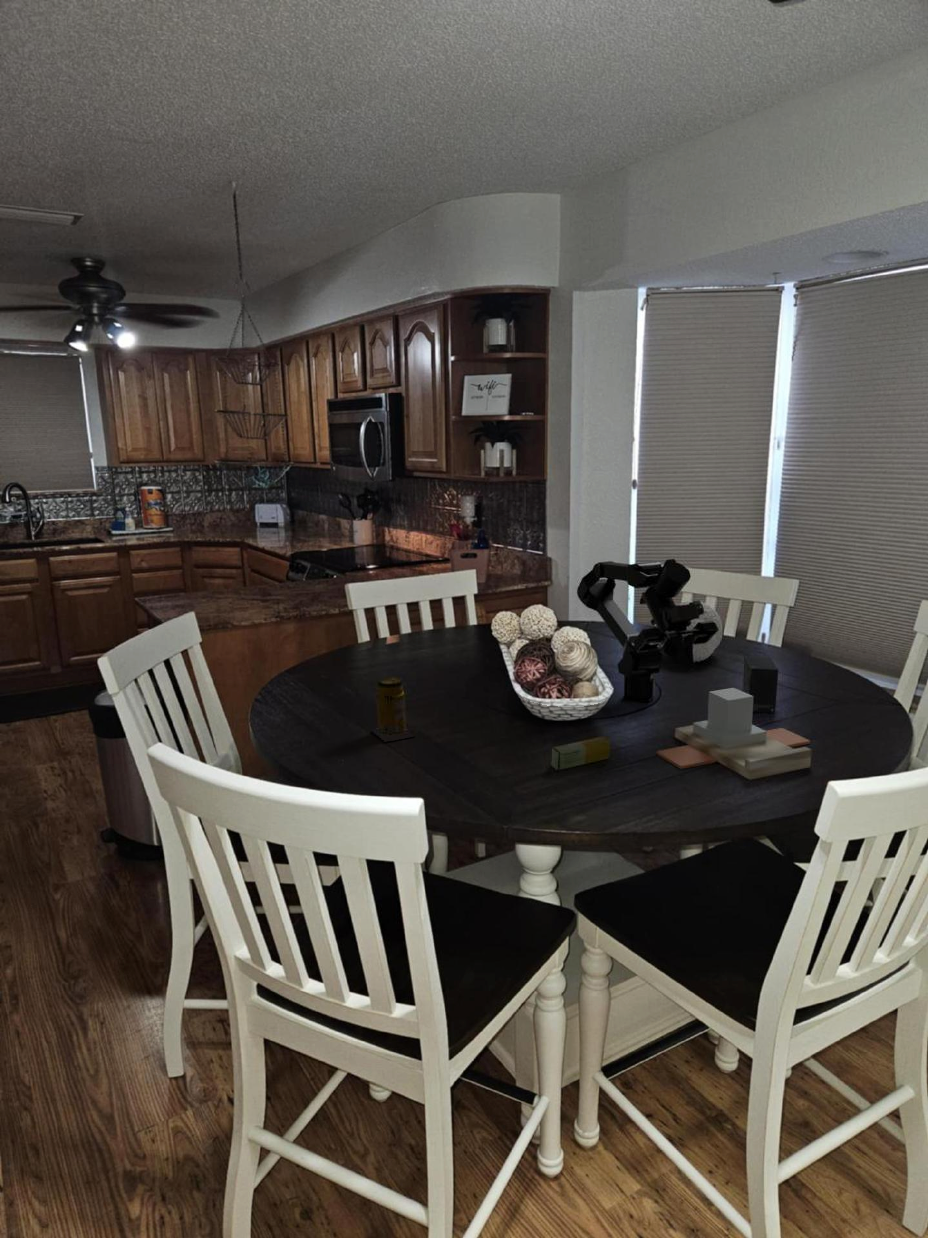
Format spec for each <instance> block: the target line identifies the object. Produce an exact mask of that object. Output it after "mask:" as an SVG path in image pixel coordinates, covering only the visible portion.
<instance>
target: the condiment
mask: <svg viewBox="0 0 928 1238" xmlns="http://www.w3.org/2000/svg"><path fill="white" fill-rule="evenodd" d="M376 710H377V729H378V730H379V732H381V733H382V734H389V735H392V734H400V733H402V732H404V731H405V730H406V729H407V728H406V726H407V725H406V724H407V721H406V720H407V718H406V715H407V714H406V699H405V692H404V690H403V681H402V679H401V678H398V677H383V678H381V679H379V680H378V681H377V692H376ZM405 728H406V729H405Z"/></svg>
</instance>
